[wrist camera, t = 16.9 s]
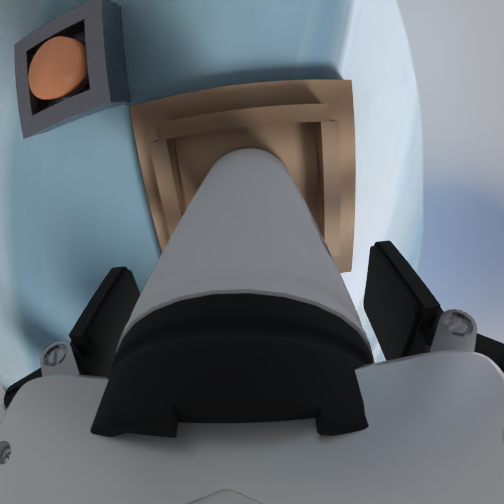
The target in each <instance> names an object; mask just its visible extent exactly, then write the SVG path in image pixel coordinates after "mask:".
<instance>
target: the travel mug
mask: <svg viewBox="0 0 504 504" xmlns="http://www.w3.org/2000/svg"><path fill="white" fill-rule="evenodd" d="M372 363H374V358H373V354H372V350H371V346H370V343H369V340H368V338H367V335H366V333H365V331H364V330H363V328H362V325H361V322H360V319H359V316H358V314H357V311H356V309H355V306H354V304H353V302H352V300H351V297H350V295H349V293H348V290H347V288H346V286H345V284H344V281H343V279H342V277H341V275H340V273H339V270H338V268H337V266H336V264H335V262H334V260H333V257H332V255H331V253H330V251H329V249H328V247H327V245H326V243H325V241H324V239H323V236H322V234H321V232H320V230H319V228H318V226H317V224H316V222H315V220H314V218H313V216H312V214H311V212H310V210H309V208H308V206H307V204H306V203H305V201H304V199H303V197H302V195H301V193H300V191H299V189H298V187H297V185H296V183H295V182H294V180H293V178H292V176H291V174H290V172H289V170H288V169H287V167H286V166H285V164H284V163H283V161H282V160H281V159H279V158H278V157H277V156H276V155H275V154H273V153H271V152H270V151H268V150H265V149H262V148H258V147H241V148H237V149H233V150H231V151H229V152H227V153H225V154H224V155H223V156H221V157H220V158H219V159H218V160H217V161H216V162H215V164H214V165H213V166H212V168H211V170H210V171H209V173H208V174H207V176H206V178H205V179H204V181H203V183H202V184H201V186H200V187H199V189H198V191H197V192H196V194H195V196H194V197H193V199H192V201H191V203H190V204H189V206H188V208H187V209H186V211H185V213H184V215H183V216H182V218H181V220H180V222H179V223H178V225H177V227H176V229H175V230H174V232H173V234H172V236H171V238H170V239H169V241H168V243H167V245H166V247H165V249H164V250H163V252H162V254H161V256H160V258H159V260H158V262H157V263H156V265H155V267H154V269H153V271H152V273H151V275H150V277H149V279H148V281H147V283H146V285H145V287H144V289H143V291H142V293H141V295H140V297H139V299H138V301H137V303H136V305H135V307H134V309H133V312H132V314H131V317H130V319H129V321H128V323H127V324H126V326H125V328H124V330H123V333H122V335H121V338H120V340H119V343H118V346H117V349H116V355H115V358H114V361H113V364H112V367H111V371H110V372H109V374H108V375H107V377H106V378H108V383H107V386H106V388H105V391H104V393H103V396H102V399H101V402H100V404H99V407H98V410H97V413H96V415H95V418H94V421H93V424H92V426H91V429H90V432H91V433H92V434H96V435H101V436H106V437H114V436H118V435H121V434H125V433H133V434H141V435H149V436H158V437H169V438H176V435H177V429H178V424H179V423H259V422H276V421H288V420H301V419H311V418H315V422H316V428H317V433H319V435H327V436H337V435H342V434H347V433H352V432H357V431H362V430H365V429H366V428H367V427H369V425H368V422H367V419H366V416H365V408H364V402H363V398H362V395H361V391H360V387H359V384H358V380H357V376H356V373H355V369H358V368H359V367H361V366H364V365H367V364H372Z"/></svg>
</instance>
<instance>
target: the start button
mask: <svg viewBox="0 0 504 504" xmlns="http://www.w3.org/2000/svg"><path fill="white" fill-rule="evenodd" d="M28 80H29V86H30V89H31V91H32V93H33V94H34V95H35V96H36V97H38V98H40V99H54V98H64V97H70V96H73V95H75V94H77V93H78V92H80V91H81V90H82V89H83V88H84V87H85V86H86V85H87V83H88V82H89V76H88V66H87V56H86V42H85V41H81V40H77V39H73V38H68V37H63V36H59V37H54V38H52V39H50V40H48V41H47V42H45V43H44V44H43V45H42V46H41V47H40V48H39V49H38V51H37V52H36V54H35V55H34V57H33V59H32V62H31V64H30V68H29V75H28Z"/></svg>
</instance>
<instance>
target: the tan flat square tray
mask: <svg viewBox="0 0 504 504" xmlns="http://www.w3.org/2000/svg"><path fill="white" fill-rule="evenodd" d="M130 112H131V118H132V124H133V130H134V135H135V140H136V146H137V151H138V156H139V161H140V165H141V170H142V175H143V179H144V184H145V188H146V192H147V197H148V201H149V205H150V209H151V213H152V217H153V221H154V225H155V228H156V232H157V236H158V240H159V243H160V247H161V250H162V252H163V250H164V249H165V247H166V245H167V243H168V241H169V239H170V238H171V236H172V234H173V232H174V230H175V229H176V227H177V225H178V223H179V222H180V220H181V218H182V216H183V215H184V213H185V211H186V209H187V208H188V206H189V204H190V203H191V201H192V199H193V197H194V196H195V194H196V192H197V191H198V189H199V187H200V186H201V184H202V183H203V181H204V179H205V178H206V176H207V174H208V173H209V171H210V170H211V168H212V166H213V165H214V164H215V162H216V161H217V160H218V159H219V158H220V157H221V156H223V155H224V154H225V153H227V152H229V151H231V150H233V149H237V148H241V147H258V148H262V149H265V150H268V151H270V152H271V153H273V154H275V155H276V156H277V157H278V158H279V159H281V160H282V161H283V163H284V164H285V166H286V167H287V169H288V170H289V172H290V174H291V176H292V178H293V180H294V182H295V183H296V185H297V187H298V189H299V191H300V193H301V195H302V197H303V199H304V201H305V203H306V204H307V206H308V208H309V210H310V212H311V214H312V216H313V218H314V220H315V222H316V224H317V226H318V228H319V230H320V232H321V234H322V236H323V239H324V241H325V243H326V245H327V247H328V249H329V251H330V253H331V255H332V257H333V260H334V262H335V264H336V266H337V268H338V270H339V273H343V272H351V268H352V255H353V240H354V221H355V176H356V171H355V127H354V108H353V94H352V82H351V80H332V79H313V80H284V81H269V82H257V83H247V84H238V85H230V86H223V87H216V88H210V89H204V90H198V91H193V92H187V93H182V94H177V95H173V96H168V97H164V98H159V99H155V100H151V101H147V102H143V103H140V104H136V105H132V106H130Z"/></svg>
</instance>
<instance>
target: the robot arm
mask: <svg viewBox="0 0 504 504" xmlns="http://www.w3.org/2000/svg"><path fill="white" fill-rule="evenodd" d="M139 297H140V292H139V290H138V287H137V285H136V282H135V279H134V276H133V274H132V272H131V270H128V269H127V268H126V267H115V268H112V269H111V270H110V271H109V273H108V274H107V276H106V277H105V279H104V280H103V282H102V283H101V285H100V286H99V288H98V289H97V291H96V292H95V294H94V295H93V297H92V298H91V300H90V301H89V303H88V305H87V306H86V308H85V309H84V311H83V313H82V314H81V316H80V317H79V319H78V321H77V322H76V324H75V326H74V327H73V329H72V331H71V332H70V334H69V337H70V339H71V340H72V341H71V343H70V344H69V343H68V342H66V341H58V342H55V343H53V344H51V345H50V346H48V347H47V348H46V349H45V350H44V352H43V353H42V355H41V358H40V365H41V368H40V369H38V370H36V371H34V372H33V373H31V374H29V375H28V376H26V377H24V378H23V379H21V380H19V381H18V382H16V383H14V384H13V385H11V386H10V387H9V388H8V389H7V391H6V394H5V397H4V406H3V405H2V404H0V504H504V344H503V343H500V342H498V341H495V340H493V339H490V338H488V337H485V336H483V335H480V334H478V333H477V325H476V322H475V320H474V319H473V318H472V317H471V316H470V315H469V314H467V313H466V312H463V311H461V310H456V309H454V310H453V309H452V310H447V311H445V312H444V311H443V310H442V309H441V307H440V304H439V303H438V301H437V300H436V299H435V297H434V296H433V294H432V293H431V292H430V290H429V289H428V288H427V286H426V285H425V284H424V282H423V281H422V280H421V279H420V277H419V276H418V275H417V273H416V272H415V271H414V269H413V268H412V267H411V266H410V264H409V263H408V262H407V261H406V259H405V258H404V257H403V256H402V255H401V253H400V252H399V251H398V250H397V248H396V247H395V246H394V245H393V244H392V242H391V241H381V242H376V243H375V244H374V246H371V248H370V255H369V264H368V273H367V281H366V288H365V295H364V310H365V312H366V314H367V317H368V319H369V321H370V323H371V326H372V328H373V330H374V332H375V335H376V337H377V339H378V342H379V344H380V347H381V349H382V351H383V354H384V356H385V359H386V361H383V362H378V363H372V364H367V365H364V366H361V367H359V368H358V369H355V373H356V376H357V380H358V384H359V387H360V391H361V395H362V398H363V402H364V408H365V416H366V419H367V422H368V425H369V427H367V428H366V429H365V430H362V431H357V432H352V433H347V434H342V435H337V436H327V435H319V433H317V428H316V422H315V418H311V419H301V420H288V421H276V422H259V423H179V424H178V429H177V435H176V438H169V437H158V436H149V435H141V434H133V433H125V434H121V435H118V436H114V437H106V436H101V435H96V434H92V433H91V432H90V429H91V426H92V424H93V421H94V418H95V415H96V413H97V410H98V407H99V404H100V402H101V399H102V396H103V393H104V391H105V388H106V386H107V383H108V378H106V377H107V375H108V374H109V372H110V371H111V367H112V364H113V361H114V358H115V355H116V349H117V346H118V343H119V340H120V338H121V335H122V333H123V330H124V328H125V326H126V324H127V323H128V321H129V319H130V317H131V314H132V312H133V309H134V307H135V305H136V303H137V301H138V299H139Z"/></svg>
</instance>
